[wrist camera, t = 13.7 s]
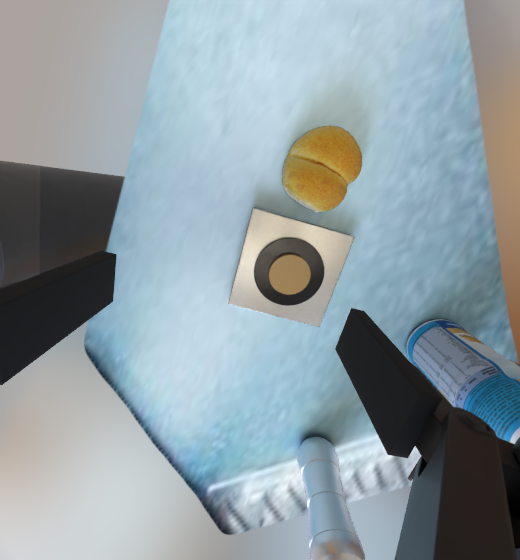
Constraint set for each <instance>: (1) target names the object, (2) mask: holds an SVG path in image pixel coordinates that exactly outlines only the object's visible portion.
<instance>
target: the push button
mask: <svg viewBox="0 0 520 560" xmlns="http://www.w3.org/2000/svg"><path fill="white" fill-rule="evenodd" d="M353 240H354V237H353V236H351V235H348V234H344V233H341V232H337V231H334V230H330V229H327V228H324V227H320V226H317V225H313V224H310V223H306V222H303V221H299V220H296V219H292V218H289V217H285V216H282V215H278V214H275V213H271V212H268V211H264V210H261V209H257V208H253V211H252V215H251V218H250V222H249V226H248V230H247V234H246V238H245V242H244V245H243V249H242V253H241V257H240V261H239V265H238V269H237V273H236V276H235V280H234V284H233V288H232V292H231V296H230V300H229V303H228V304H231V305H235V306H239V307H242V308H246V309H250V310H254V311H258V312H262V313H266V314H270V315H274V316H278V317H282V318H285V319H289V320H293V321H297V322H301V323H305V324H309V325H313V326H317V327H319V326H320V324H321V321H322V319H323V316H324V314H325V311H326V309H327V306H328V304H329V301H330V298H331V296H332V293H333V291H334V288H335V286H336V283H337V281H338V278H339V275H340V273H341V270H342V268H343V265H344V263H345V260H346V258H347V255H348V252H349V250H350V247H351V245H352V242H353Z"/></svg>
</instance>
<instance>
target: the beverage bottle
mask: <svg viewBox="0 0 520 560" xmlns="http://www.w3.org/2000/svg"><path fill="white" fill-rule="evenodd" d="M407 354H408V356H409V358H410V360H411V361H412V362H413V363H414V364H415V365H416V366H417V367H418V369H419V370H420V371H421V372H422V373H423V374H424V375H425V376H426V377H427V379H429V381H430V382H431V383H432V384H433V386H435V387H436V388H437V389H438V390H439V391H440V393H441V394H442V395H443V396H444V397H445V398H446V399H447V400H448V401H449V402H450V403H451V405H452V406H453V407H458V408H462V409H465V410H467V411H469V412H471V413H473V414H475V415H476V416H478V417H479V418H481V419H482V420H483V421H485V422H486V423H487V424H488V425H489V426H490V427H491V428H492V429H493V430H494V431H495V433H496V435H497V437H498V438H501V439H503V440H506V441H508V442H510V443H513V444H515V443H516V441H517V440H518V439H519V437H520V365H519V364H518V363H516V362H514V361H511V360H508V359H506V358H505V357H503V356H502V355H500V354H499V353H497V352H496V351H494V350H493V349H491V348H490V347H488V346H487V345H485V344H484V343H482V342H481V341H479V340H478V339H476V338H475V337H473V336H472V335H470V334H469V333H468V332H466V331H465V330H464V329H463V328H462V327H460V326H459V325H457V324H456V323H454V322H452V321H449V320H443V319H437V320H431V321H428V322H426V323H423V324H422V325H420V326H419V327H417V328H416V329H415V330H414V331H413V332H412V334H411V335H410V337H409V339H408V342H407Z"/></svg>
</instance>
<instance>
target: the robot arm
mask: <svg viewBox="0 0 520 560" xmlns="http://www.w3.org/2000/svg"><path fill="white" fill-rule="evenodd" d="M115 267H116V254H113V253H108V252H104V251H100V252H97V253H95V254H92V255H89V256H87V257H84V258H81V259H79V260H76V261H73V262H71V263H68V264H65V265H63V266H60V267H57V268H55V269H52V270H49V271H47V272H44V273H41V274H39V275H36V276H33V277H31V278H28V279H25V280H23V281H18V282H12V283H8V284H6V285H3V286H0V385H3V384H4V383H5V382H7V381H8V380H9V379H11V378H12V377H13V376H15V375H16V374H17V373H18V372H20V371H21V370H22V369H24V368H25V367H26V366H28V365H29V364H30V363H32V362H33V361H34V360H36V359H37V358H38V357H40V356H41V355H42V354H44V353H45V352H46V351H48V350H49V349H50V348H51V347H53V346H54V345H56V344H57V343H58V342H60V341H61V340H62V339H64V338H65V337H66V336H68V335H69V334H70V333H72V332H73V331H74V330H76V329H77V328H78V327H80V326H81V325H82V324H83V323H85V322H86V321H87V320H89V319H90V318H91V317H93V316H94V315H95V314H97V313H98V312H99V311H101V310H102V309H103V308H105V307H106V306H107V305H109V304H110V303H111V302H113V294H114V280H115ZM336 351H337V353H338V355H339V357H340V359H341V361H342V363H343V365H344V367H345V369H346V371H347V373H348V375H349V377H350V379H351V381H352V383H353V385H354V387H355V389H356V391H357V393H358V395H359V397H360V399H361V401H362V403H363V405H364V407H365V409H366V411H367V413H368V415H369V417H370V419H371V422H372V424H373V426H374V428H375V430H376V432H377V434H378V436H379V438H380V440H381V442H382V444H383V446H384V448H385V450H386V452H387V454H388V455H393V456H398V457H404V458H408V457H409V455H410V453H411V452H412V450H413V448H414V447H415V446H416V447H417V449H418V451H419V452H420V454H421V455H422V456H421V457H420V459H419V461H418V462H417V464H416V466H415V467H414V469H413V471H412V472H411V474H410V476H409V477H408V479H409V480H410V481H411V480H412V479H413V482H412V487H411V491H410V495H409V500H408V504H407V508H406V513H405V517H404V522H403V526H402V530H401V534H400V539H399V543H398V548H397V552H396V556H395V560H520V437H519V439H518V440H517V441H516V443H515V444H513V443H510V442H508V441H506V440H503V439H501V438H498V437H497V435H496V433H495V431H494V430H493V429H492V428H491V427H490V426H489V425H488V424H487V423H486V422H485V421H483V420H482V419H481V418H479V417H478V416H476V415H475V414H473V413H471V412H469V411H467V410H465V409H462V408H458V407H453V406H452V405H451V403H450V402H449V401H448V400H447V399H446V398H445V397H444V396H443V395H442V394H441V393H440V391H439V390H438V389H437V388H436V387H435V386H433V384H432V383H431V382H430V381H429V379H427V377H426V376H425V375H424V374H423V373H422V372H421V371H420V370H419V369H418V368H417V367H416V366H414V365H413V364H412V363H410V362H409V361H408V360H407V359H406V357H405V356H404V355H403V354H402V353H401V352H400V351H399V350H398V348H397V347H396V346H395V345H394V344H393V343H392V342H391V341H390V340H389V338H388V337H387V336H386V335H385V334H384V333H383V332H382V331H381V330H380V328H379V327H378V326H377V325H376V324H375V323H374V322H373V321H372V319H371V318H370V317H369V316H368V315H367V314H366V313H365V312H364V311H361V310H357V309H353V308H351V310H350V313H349V316H348V318H347V321H346V323H345V326H344V328H343V331H342V333H341V336H340V338H339V341H338V343H337V346H336Z"/></svg>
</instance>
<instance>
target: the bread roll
mask: <svg viewBox="0 0 520 560" xmlns="http://www.w3.org/2000/svg"><path fill="white" fill-rule="evenodd" d="M361 167H362V155H361V151H360V148H359V146H358V144H357V142H356V141H355V139H354V138H353V136H352V135H351V134H350V133H349V132H347V131H346V130H344V129H343V128H340V127H337V126H323V127H318V128H315V129H313V130H311V131H309V132H307V133H305V134H304V135H303V136H301V137H300V138H299V139H298V140H297V141H296V142H295V143H294V145H293V146H292V148H291V149H290V152H289V154H288V156H287V159H286V161H285V163H284V167H283V172H282V183H283V186H284V188H285V190H286V192H287V194H288V196H290V197H291V198H292V199H294V200H295V201H297V202H298V203H300V204H302V205H303V206H304V207H306V208H309V209H311V210H312V211H315V212H316V213H318V212H321V211H328V210H331V209H333V208H335V207H336V206H337V205H339V204H340V203H341V202H342V200H343V199H344V197H345V195H346V193H347V186H348V185H349V184H350V183H351V182H353V181H354V180H355V179H356V178H357V177H358V175H359V173H360V171H361Z"/></svg>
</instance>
